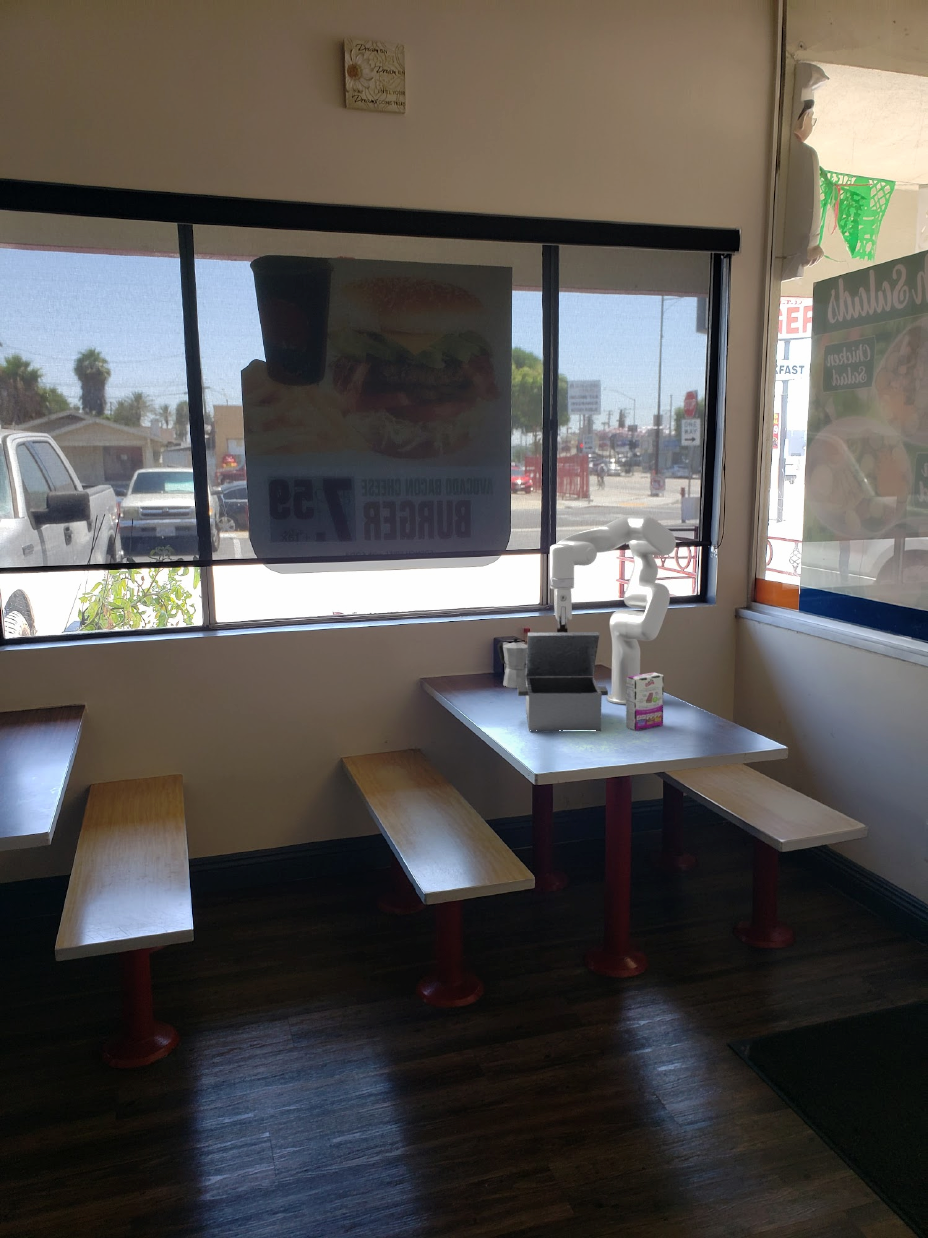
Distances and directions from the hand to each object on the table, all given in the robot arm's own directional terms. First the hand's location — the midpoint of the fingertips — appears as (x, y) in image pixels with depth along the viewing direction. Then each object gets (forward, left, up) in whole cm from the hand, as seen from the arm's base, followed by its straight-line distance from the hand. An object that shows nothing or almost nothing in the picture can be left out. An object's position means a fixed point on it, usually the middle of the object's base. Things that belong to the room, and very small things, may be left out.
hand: (562, 640), depth 286 cm
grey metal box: (0, +4, -26) cm, 26 cm away
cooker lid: (0, 0, -5) cm, 5 cm away
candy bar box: (-25, +10, -26) cm, 37 cm away
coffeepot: (+14, -45, -26) cm, 54 cm away
